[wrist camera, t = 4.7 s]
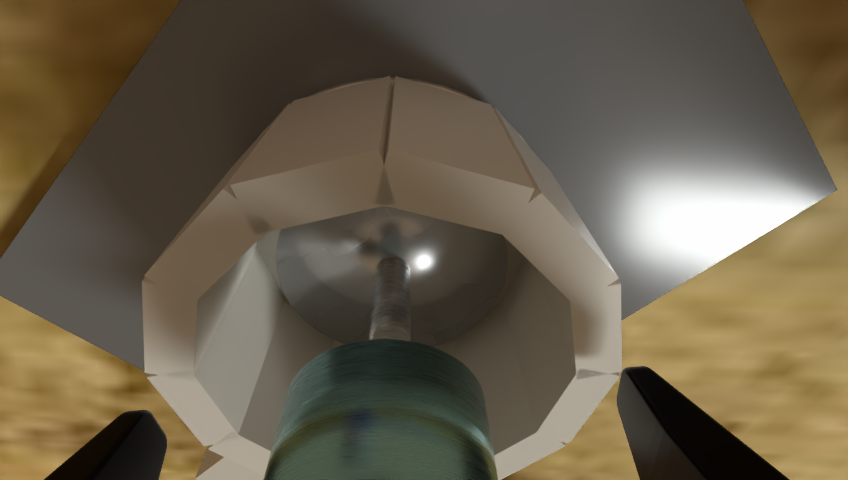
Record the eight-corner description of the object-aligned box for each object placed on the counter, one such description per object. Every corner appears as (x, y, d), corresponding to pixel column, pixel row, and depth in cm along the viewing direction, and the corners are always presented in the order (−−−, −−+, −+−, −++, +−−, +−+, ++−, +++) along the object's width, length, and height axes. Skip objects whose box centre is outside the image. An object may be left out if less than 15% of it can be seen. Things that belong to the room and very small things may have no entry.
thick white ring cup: (392, -14, 10) (381, 15, 6) (613, 241, 14) (705, 373, 9) (139, 268, 14) (19, 412, 9) (366, 408, 17) (352, 556, 13)
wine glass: (392, 101, 10) (365, 348, 4) (548, 259, 13) (686, 568, 6) (235, 257, 12) (54, 580, 6) (394, 366, 15) (384, 679, 8)
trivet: (503, -444, 7) (509, -469, 7) (823, 182, 13) (837, 189, 13) (-6, 275, 14) (-19, 285, 14) (356, 470, 20) (355, 481, 20)
